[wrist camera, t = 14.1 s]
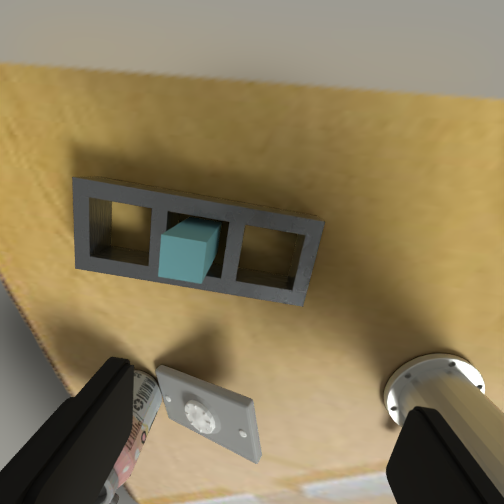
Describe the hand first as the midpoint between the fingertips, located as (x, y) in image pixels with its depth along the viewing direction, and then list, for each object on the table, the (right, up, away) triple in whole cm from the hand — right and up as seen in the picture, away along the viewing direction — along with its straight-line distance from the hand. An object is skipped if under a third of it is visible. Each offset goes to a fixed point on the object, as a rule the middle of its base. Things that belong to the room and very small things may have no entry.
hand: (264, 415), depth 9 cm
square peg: (-6, +8, +21) cm, 23 cm away
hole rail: (-6, +7, +21) cm, 23 cm away
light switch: (-6, -13, +27) cm, 31 cm away
